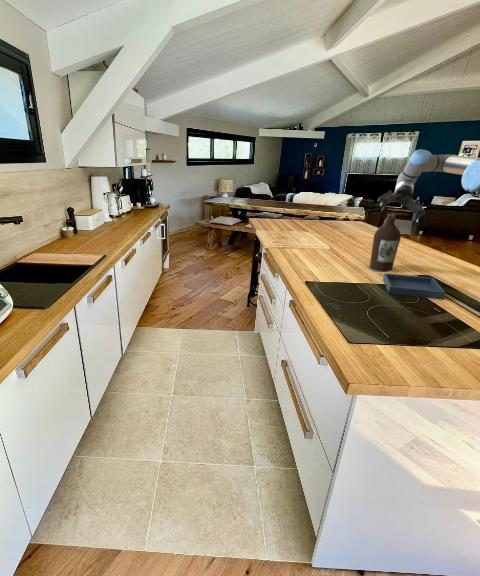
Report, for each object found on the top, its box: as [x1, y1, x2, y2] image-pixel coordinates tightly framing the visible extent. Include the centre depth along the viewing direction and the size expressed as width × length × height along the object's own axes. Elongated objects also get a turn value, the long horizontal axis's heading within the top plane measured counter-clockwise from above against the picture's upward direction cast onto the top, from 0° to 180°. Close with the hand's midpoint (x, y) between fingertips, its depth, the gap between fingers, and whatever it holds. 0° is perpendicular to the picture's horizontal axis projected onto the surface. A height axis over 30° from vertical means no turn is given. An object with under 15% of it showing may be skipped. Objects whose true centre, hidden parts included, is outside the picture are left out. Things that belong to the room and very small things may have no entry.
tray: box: [382, 272, 446, 300], centre depth 125 cm, size 18×17×3 cm
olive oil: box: [369, 214, 402, 272], centre depth 145 cm, size 11×11×25 cm
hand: (398, 215), depth 140 cm, fingers open, 13 cm apart
